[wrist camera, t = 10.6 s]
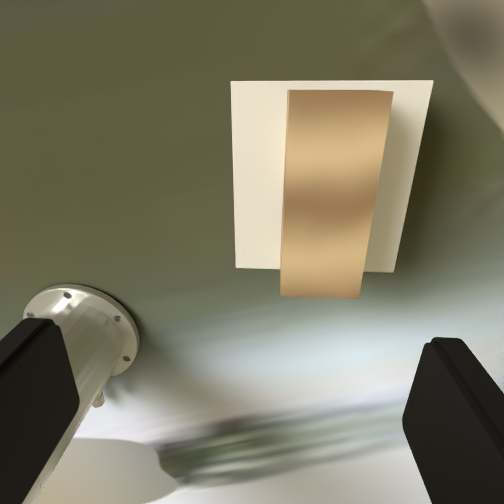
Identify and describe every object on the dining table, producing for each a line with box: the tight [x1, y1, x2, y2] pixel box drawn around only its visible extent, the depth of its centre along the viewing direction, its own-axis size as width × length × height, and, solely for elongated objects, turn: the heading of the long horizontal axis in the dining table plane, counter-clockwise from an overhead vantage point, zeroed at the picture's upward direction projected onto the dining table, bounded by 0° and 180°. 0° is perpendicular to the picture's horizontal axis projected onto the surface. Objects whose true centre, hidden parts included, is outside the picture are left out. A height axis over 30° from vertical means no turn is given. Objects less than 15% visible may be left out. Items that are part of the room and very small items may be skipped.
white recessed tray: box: [231, 80, 433, 272], centre depth 26 cm, size 13×12×6 cm
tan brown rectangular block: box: [280, 90, 394, 299], centre depth 23 cm, size 12×5×8 cm, turn 0°
